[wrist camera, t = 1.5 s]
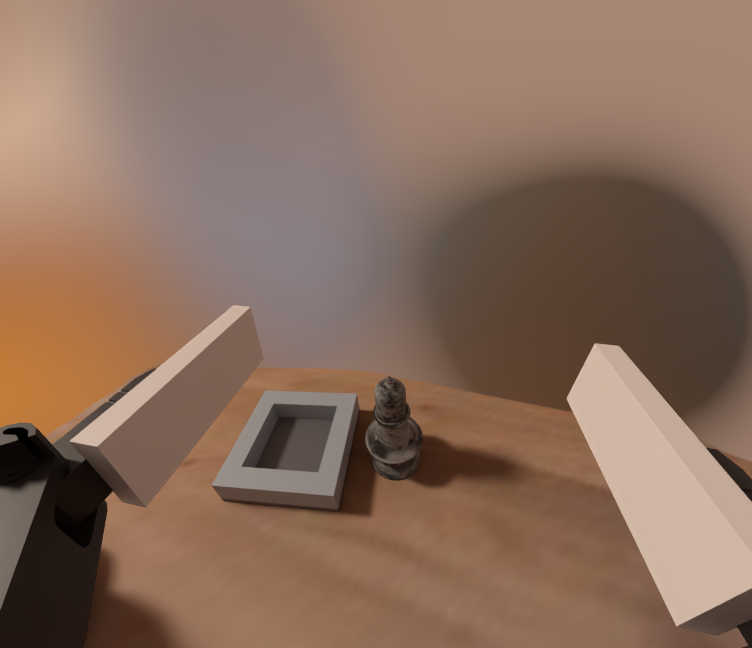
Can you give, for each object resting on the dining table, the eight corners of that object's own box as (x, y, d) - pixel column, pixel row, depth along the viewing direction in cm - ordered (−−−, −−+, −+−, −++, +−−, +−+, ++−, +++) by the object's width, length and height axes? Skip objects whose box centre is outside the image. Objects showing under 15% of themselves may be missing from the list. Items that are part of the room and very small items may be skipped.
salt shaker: (424, 435, 34) (424, 356, 27) (421, 487, 29) (421, 406, 22) (374, 430, 35) (362, 352, 28) (363, 479, 30) (347, 400, 24)
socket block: (359, 409, 38) (356, 393, 36) (338, 511, 28) (333, 495, 26) (271, 406, 40) (265, 390, 38) (223, 500, 30) (211, 485, 28)
